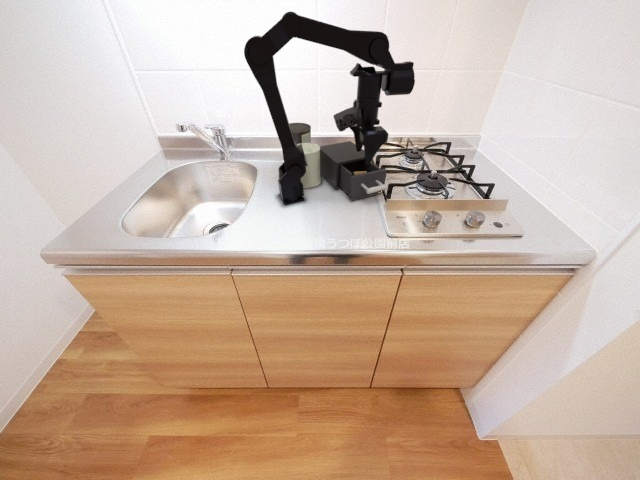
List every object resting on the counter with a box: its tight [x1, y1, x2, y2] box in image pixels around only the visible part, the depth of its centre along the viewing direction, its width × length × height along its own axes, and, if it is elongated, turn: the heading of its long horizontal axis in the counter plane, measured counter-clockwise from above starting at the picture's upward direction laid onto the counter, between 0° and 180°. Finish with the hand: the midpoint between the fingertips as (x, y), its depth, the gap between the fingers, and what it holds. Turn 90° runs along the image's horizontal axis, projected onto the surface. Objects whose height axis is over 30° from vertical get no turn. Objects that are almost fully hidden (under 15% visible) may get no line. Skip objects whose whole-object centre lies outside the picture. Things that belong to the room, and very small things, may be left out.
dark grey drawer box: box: [319, 140, 373, 190], centre depth 85 cm, size 15×13×9 cm
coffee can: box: [289, 122, 312, 144], centre depth 91 cm, size 10×10×14 cm
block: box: [354, 171, 367, 175], centre depth 77 cm, size 4×4×4 cm
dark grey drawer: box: [338, 160, 388, 201], centre depth 77 cm, size 18×11×7 cm, turn 23°
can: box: [297, 142, 322, 189], centre depth 82 cm, size 9×9×12 cm
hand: (362, 157), depth 73 cm, fingers open, 9 cm apart
